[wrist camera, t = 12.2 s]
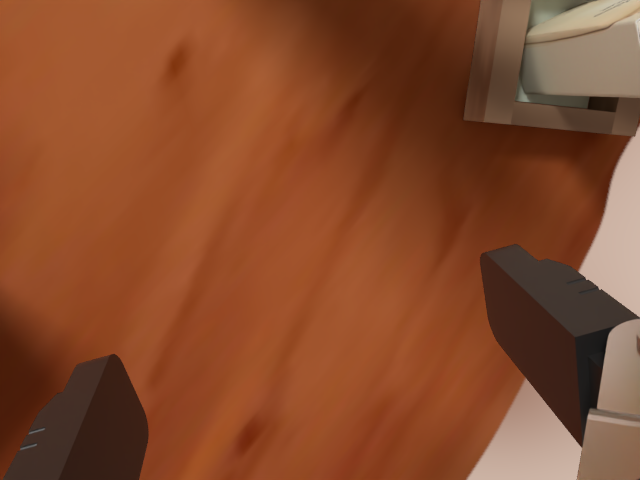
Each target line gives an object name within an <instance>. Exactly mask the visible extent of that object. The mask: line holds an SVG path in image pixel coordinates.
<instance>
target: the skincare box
mask: <svg viewBox="0 0 640 480" xmlns="http://www.w3.org/2000/svg"><path fill="white" fill-rule="evenodd" d="M519 77H520V80H521V83H522V87H523V90H524V92H525V94H538V95H568V96H598V97H628V98H640V0H598V1H593V2H588V3H583V4H580V5H578V6H576V7H574V8H572V9H569V10H567V11H565V12H563V13H561V14H558V15H556V16H554V17H552V18H550V19H548V20H546V21H544V22H542V23H540V24H538V25H536V26H534V27H532V28H530V29H528V30H526V36H525V42H524V48H523V54H522V60H521V66H520V72H519Z"/></svg>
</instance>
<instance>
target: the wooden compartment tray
mask: <svg viewBox="0 0 640 480" xmlns="http://www.w3.org/2000/svg"><path fill="white" fill-rule="evenodd" d="M593 1H598V0H481V3H480V10H479V17H478V23H477V30H476V37H475V44H474V50H473V57H472V64H471V71H470V77H469V84H468V91H467V97H466V104H465V111H464V118H463V120H467V121H477V122H488V123H498V124H508V125H519V126H529V127H540V128H550V129H560V130H571V131H581V132H592V133H602V134H613V135H624V136H635V134H636V130H637V125H638V121H639V116H640V98H628V97H598V96H568V95H538V94H525V92H524V90H523V87H522V83H521V80H520V77H519V72H520V66H521V60H522V54H523V48H524V42H525V36H526V30H528V29H530V28H532V27H534V26H536V25H538V24H540V23H542V22H544V21H546V20H548V19H550V18H552V17H554V16H556V15H558V14H561V13H563V12H565V11H567V10H569V9H572V8H574V7H576V6H578V5H580V4H583V3H588V2H593ZM589 97H590V100H589ZM514 101H520V102H514ZM522 102H529V103H522ZM588 102H589V105H588ZM532 103H538V104H532ZM541 104H548V105H541ZM550 105H557V106H550ZM560 106H566V107H560ZM569 107H576V108H569ZM587 107H588V109H587ZM578 108H585V109H578Z"/></svg>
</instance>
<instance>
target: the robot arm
mask: <svg viewBox="0 0 640 480" xmlns="http://www.w3.org/2000/svg"><path fill="white" fill-rule="evenodd" d="M480 265H481V272H482V279H483V287H484V294H485V301H486V308H487V315H488V320H489V324H490V327H491V330H492V332H493V334H494V337H495V338H496V340H497V342H498V343H499V345H500V346H501V347H502V348H503V350H504V351H505V352H506V353H507V355H508V356H509V357H510V358H511V360H512V361H513V362H514V363H515V365H516V366H517V367H518V368H519V370H520V371H521V372H522V373H523V375H524V376H525V377H526V378H527V380H528V381H529V382H530V383H531V385H532V386H533V387H534V388H535V390H536V391H537V392H538V393H539V395H540V396H541V397H542V398H543V400H544V401H545V402H546V404H547V405H548V406H549V407H550V408H551V410H552V411H553V412H554V413H555V415H556V416H557V417H558V419H559V420H560V421H561V422H562V423H563V425H564V426H565V427H566V428H567V430H568V431H569V432H570V433H571V435H572V436H573V437H574V438H575V440H576V441H577V442H578V443H579V445H580V446H581V447H582V453H581V458H580V464H579V470H578V476H577V480H640V317H638V316H637V315H636V314H634V313H633V312H631V311H630V310H629V309H627V308H626V307H625V306H623V305H622V304H621V303H619V302H618V301H617V300H615V299H614V298H612V297H611V296H610V295H608V294H607V293H606V292H604V291H603V290H602V289H601V290H599V288H598V286H596V285H594V283H592V282H591V281H589V280H586V279H585V277H584V276H583V275H581V274H580V273H579V272H577V271H576V270H575V269H573V268H572V267H570V266H568V265H565V264H562V263H559V262H556V261H553V260H549V259H544V260H541V261H538V260H537V259H535V258H534V257H533V256H532V255H530V254H529V253H528V252H527V251H525V250H524V249H523V248H522V247H520V246H519V245H517V244H514V245H510V246H507V247H503V248H499V249H496V250H492V251H488V252H485V253H482V254H481V257H480ZM147 443H148V423H147V419H146V415H145V412H144V410H143V407H142V405H141V403H140V401H139V398H138V396H137V394H136V392H135V390H134V387H133V385H132V383H131V381H130V379H129V376H128V374H127V372H126V370H125V368H124V365H123V363H122V361H121V360H120V358H119V357H118V356H117V355H115V354H112V355H108V356H105V357H101V358H97V359H94V360H90V361H86V362H83V363H79V364H78V365H77V366H76V367H75V369H74V371H73V373H72V375H71V377H70V379H69V381H68V383H67V385H66V387H65V389H64V391H63V392H61V393H57V394H56V395H55V396H54V397H53V398H52V399H51V400H50V402H49V403H48V404H47V405H46V406H45V407H44V408H43V409H42V410H41V411H40V412H39V413H38V415H37V417H36V419H35V420H34V422H33V424H32V426H31V428H30V430H29V435H26V437H25V439H24V441H23V443H22V445H21V446H20V448H21V451H18V452H17V454H16V456H15V458H14V460H13V461H12V463H11V465H10V467H9V469H8V471H7V473H6V474H5V476H4V478H3V480H139V477H140V473H141V468H142V464H143V460H144V456H145V451H146V447H147Z"/></svg>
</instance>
